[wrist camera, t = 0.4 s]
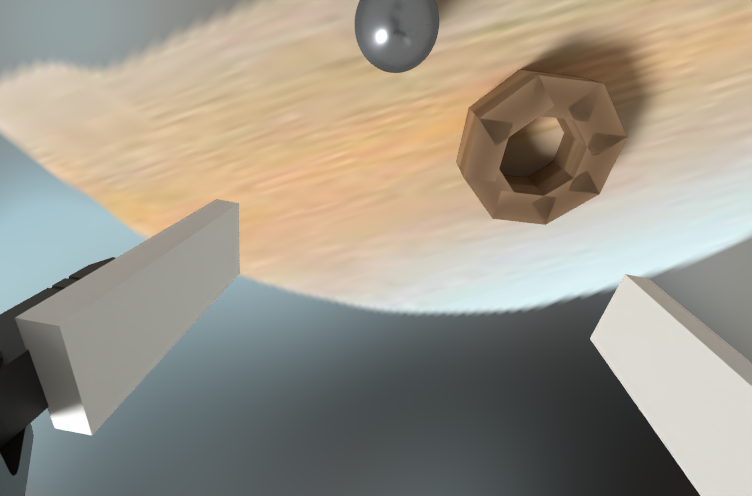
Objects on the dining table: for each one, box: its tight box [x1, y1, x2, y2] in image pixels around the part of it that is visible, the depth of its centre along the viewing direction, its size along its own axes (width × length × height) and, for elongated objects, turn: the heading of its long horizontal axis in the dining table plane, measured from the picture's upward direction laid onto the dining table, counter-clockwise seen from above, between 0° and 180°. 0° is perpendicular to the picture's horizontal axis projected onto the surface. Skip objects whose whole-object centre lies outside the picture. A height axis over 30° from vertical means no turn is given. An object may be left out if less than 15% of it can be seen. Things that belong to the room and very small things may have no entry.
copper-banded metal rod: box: [355, 0, 439, 73], centre depth 21 cm, size 3×3×18 cm
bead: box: [456, 70, 627, 225], centre depth 31 cm, size 12×12×4 cm
